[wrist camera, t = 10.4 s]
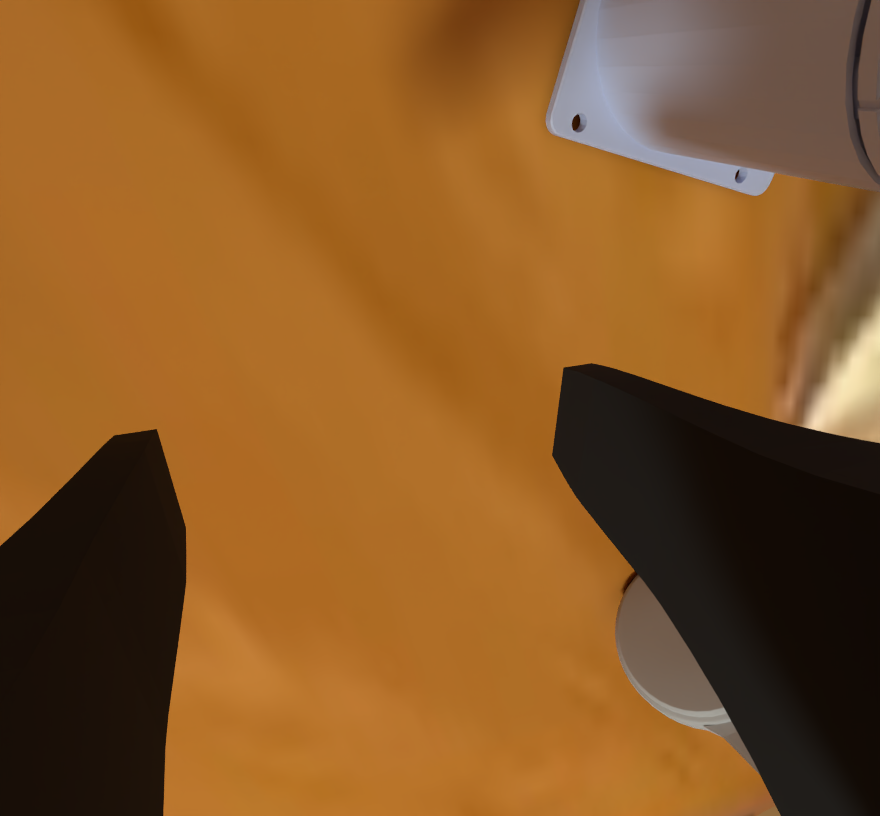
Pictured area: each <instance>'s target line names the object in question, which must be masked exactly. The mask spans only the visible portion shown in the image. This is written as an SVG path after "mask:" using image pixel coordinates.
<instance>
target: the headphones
mask: <svg viewBox="0 0 880 816" xmlns="http://www.w3.org/2000/svg"><path fill="white" fill-rule="evenodd" d="M615 637H616V647H617V651H618V655H619V659H620V661H621V664H622V667H623V669H624V671H625V673H626V675H627V677H628V678H629V680H630V682H631V683H632V685H633V686H634V687H635V689H636V690H637V691H638V693H639V694H640V695H641V696H642V697H643V698H644V699H645V700H647V701H648V702H649V703H650V704H651V705H652V706H653V707H654V708H656V709H657V710H658V711H660V712H661V713H663V714H664V715H665V716H667V717H669V718H671V719H673V720H675V721H677V722H679V723H681V724H684V725H687V726H690V727H693V728H697V729H703V730H708V731H710V732H712V733H715V734H717V735H719V736H721V737H723V738H724V739H725V740H726V741H727V742H728V743H729V744H730V745H731V746H732V747H733V748H734V749H735V750H736V751H737V752H738V753H739V754H740V755H741V756H742V757H743V758H744V759H745V760H746V761H747V762H748V763H749V764H750V765H751V766H752V767H753V768H754V769H755V770H756V771H757V772H758V773H759V771H758V769H757V767H756V765H755V763H754V761H753V760H752V758H751V756H750V754H749V752H748V751H747V749H746V747H745V745H744V743H743V741H742V740H741V738H740V736H739V734H738V732H737V731H736V729H735V727H734V725H733V723H732V722H731V720H730V718H729V716H728V714H727V712H726V711H725V709H724V707H723V705H722V703H721V702H720V700H719V698H718V696H717V695H716V693H715V691H714V690H713V688H712V686H711V685H710V683H709V681H708V680H707V678H706V676H705V675H704V673H703V671H702V670H701V668H700V666H699V665H698V663H697V661H696V660H695V658H694V656H693V655H692V653H691V651H690V650H689V648H688V646H687V645H686V643H685V642H684V640H683V639H682V637H681V636H680V634H679V632H678V631H677V629H676V628H675V626H674V625H673V623H672V622H671V620H670V618H669V617H668V615H667V614H666V612H665V611H664V609H663V608H662V606H661V605H660V603H659V602H658V600H657V599H656V598H655V596H654V595H653V593H652V592H651V591H650V589H649V588H648V587H647V585H646V584H645V583H644V581H643V580H642V579H641V578H640V576H639V575H637V576H636V577H635V578H634V579H633V580H632V582H631V583H630V585H629V586H628V587H627V589H626V591H625V593H624V595H623V597H622V599H621V602H620V605H619V608H618V612H617V617H616V627H615ZM759 774H760V773H759Z"/></svg>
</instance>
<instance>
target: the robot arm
mask: <svg viewBox="0 0 880 816" xmlns="http://www.w3.org/2000/svg"><path fill="white" fill-rule="evenodd" d="M577 114H578V115H579V117H580V125H579V127H578V129H576V130H575V131H574V130H573V128H572V120H573V118H574V116H576V115H577ZM546 125H547V128H548V130H549V131H550V133H552V134H554V135H555V136H559V137H562V138H565V139H568V140H572V141H575V142H578V143H582V144H585V145H588V146H591V147H595V148H598V149H601V150H604V151H608V152H611V153H614V154H617V155H621V156H624V157H627V158H631V159H634V160H637V161H640V162H644V163H647V164H650V165H653V166H657V167H660V168H663V169H666V170H670V171H673V172H676V173H680V174H683V175H686V176H689V177H693V178H696V179H699V180H702V181H706V182H709V183H712V184H715V185H719V186H722V187H725V188H729V189H732V190H735V191H738V192H742V193H745V194H748V195H753V196H758V195H760V194H762V193H763V192H764V191H765V190H766V189H767V187H768V186H769V184H770V182H771V180H772V178H773V176H774V174H775V173H778V174H783V175H789V176H794V177H800V178H805V179H811V180H816V181H822V182H827V183H833V184H838V185H843V186H849V187H854V188H860V189H865V190H871V191H876V192H880V0H580V3H579V6H578V10H577V13H576V16H575V20H574V23H573V27H572V30H571V33H570V37H569V40H568V43H567V47H566V50H565V53H564V57H563V60H562V63H561V67H560V70H559V74H558V77H557V80H556V84H555V87H554V90H553V94H552V97H551V100H550V104H549V107H548V110H547V114H546ZM738 170H739V175H738V177H737V178H736V179H735V175H736V172H737V171H738ZM552 456H553V458H554V459H555V461H556V463H557V465H558V467H559V469H560V470H561V472H562V474H563V476H564V478H565V479H566V481H567V483H568V484H569V486H570V488H571V489H572V491H573V492H574V494H575V496H576V497H577V498H578V500H579V501H580V502H581V504H582V505H583V506H584V508H585V509H586V510H587V511H588V513H589V514H590V515H591V516H592V518H593V519H594V520H595V522H596V523H597V524H598V525H599V527H600V528H601V529H602V530H603V532H604V533H605V534H606V535H607V537H608V538H609V539H610V540H611V542H612V543H613V544H614V545H615V546H616V548H617V549H618V550H619V551H620V553H621V554H622V555H623V556H624V558H625V559H626V560H627V561H628V563H629V564H630V565H631V566H632V568H633V569H634V570H635V571H636V573H637V574H638V575H639V576H640V578H641V579H642V580H643V581H644V583H645V584H646V585H647V587H648V588H649V589H650V591H651V592H652V593H653V595H654V596H655V598H656V599H657V600H658V602H659V603H660V605H661V606H662V608H663V609H664V611H665V612H666V614H667V615H668V617H669V618H670V620H671V622H672V623H673V625H674V626H675V628H676V629H677V631H678V632H679V634H680V636H681V637H682V639H683V640H684V642H685V643H686V645H687V646H688V648H689V650H690V651H691V653H692V655H693V656H694V658H695V660H696V661H697V663H698V665H699V666H700V668H701V670H702V671H703V673H704V675H705V676H706V678H707V680H708V681H709V683H710V685H711V686H712V688H713V690H714V691H715V693H716V695H717V696H718V698H719V700H720V702H721V703H722V705H723V707H724V709H725V711H726V712H727V714H728V716H729V718H730V720H731V722H732V723H733V725H734V727H735V729H736V731H737V732H738V734H739V736H740V738H741V740H742V741H743V743H744V745H745V747H746V749H747V751H748V752H749V754H750V756H751V758H752V760H753V761H754V763H755V765H756V767H757V769H758V771H759V773H760V775H761V777H762V779H763V781H764V783H765V785H766V787H767V789H768V791H769V793H770V795H771V797H772V799H773V801H774V803H775V805H776V807H777V809H778V811H779V813H780V815H781V816H880V443H875V442H870V441H864V440H859V439H854V438H849V437H844V436H839V435H834V434H829V433H825V432H821V431H817V430H812V429H808V428H804V427H800V426H795V425H791V424H787V423H783V422H779V421H776V420H772V419H768V418H765V417H761V416H758V415H754V414H751V413H748V412H744V411H741V410H738V409H734V408H731V407H728V406H725V405H722V404H718V403H715V402H712V401H709V400H706V399H703V398H700V397H697V396H694V395H691V394H688V393H685V392H682V391H680V390H677V389H674V388H671V387H668V386H665V385H662V384H659V383H656V382H653V381H650V380H648V379H645V378H642V377H639V376H636V375H633V374H630V373H626V372H623V371H620V370H617V369H613V368H610V367H606V366H602V365H597V364H592V363H591V364H585V365H578V366H572V367H565V368H564V369H563V377H562V384H561V392H560V400H559V407H558V415H557V423H556V430H555V438H554V446H553V453H552ZM185 587H186V527H185V523H184V520H183V516H182V513H181V510H180V506H179V503H178V500H177V496H176V493H175V489H174V486H173V483H172V479H171V476H170V472H169V469H168V466H167V462H166V459H165V456H164V452H163V449H162V445H161V442H160V439H159V435H158V432H157V429H155V430H148V431H141V432H135V433H128V434H122V435H115V436H113V437H112V438H111V439H110V440H109V441H108V442H107V443H106V444H104V445H103V446H102V447H101V448H100V449H99V450H98V451H97V452H96V454H95V455H94V456H93V457H92V458H91V459H90V460H89V461H88V462H87V463H86V464H85V465H84V466H83V467H82V468H81V469H80V470H79V471H78V472H77V473H76V474H75V475H74V476H73V477H72V478H71V479H70V480H69V481H68V482H67V483H66V484H65V485H64V486H63V487H62V488H61V489H60V490H59V491H58V492H57V493H56V494H55V495H54V496H53V497H52V498H51V499H50V500H49V501H48V502H47V503H46V504H45V505H44V506H43V507H42V508H41V509H40V510H39V511H38V512H37V513H36V514H35V515H34V516H33V517H32V518H31V519H30V520H29V521H27V522H26V523H25V524H24V525H23V526H22V527H21V528H20V529H19V530H18V531H16V532H15V533H14V534H13V535H12V536H11V537H10V538H9V539H8V540H7V541H5V542H4V543H3V544H2V545H1V546H0V816H163V805H164V772H165V745H166V734H167V723H168V713H169V706H170V699H171V691H172V684H173V677H174V670H175V662H176V655H177V648H178V640H179V633H180V626H181V618H182V611H183V603H184V595H185Z"/></svg>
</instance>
